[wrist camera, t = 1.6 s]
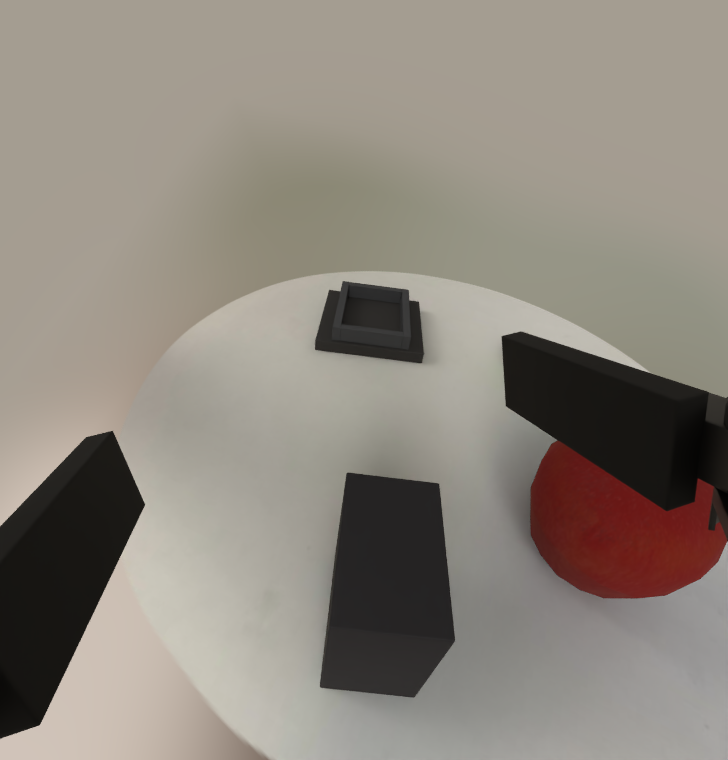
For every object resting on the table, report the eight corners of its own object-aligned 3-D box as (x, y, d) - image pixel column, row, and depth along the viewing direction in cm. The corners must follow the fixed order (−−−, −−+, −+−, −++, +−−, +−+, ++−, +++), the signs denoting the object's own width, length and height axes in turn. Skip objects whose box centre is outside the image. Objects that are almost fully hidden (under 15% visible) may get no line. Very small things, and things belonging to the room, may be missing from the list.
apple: (599, 494, 39) (682, 393, 31) (683, 626, 31) (832, 534, 22) (483, 497, 38) (539, 390, 29) (537, 639, 29) (640, 544, 20)
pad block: (319, 687, 25) (328, 627, 19) (336, 549, 32) (346, 471, 26) (414, 697, 25) (455, 641, 19) (410, 558, 32) (439, 483, 26)
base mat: (315, 349, 52) (316, 326, 50) (328, 298, 63) (330, 277, 61) (421, 363, 53) (427, 341, 51) (417, 310, 64) (421, 290, 61)
